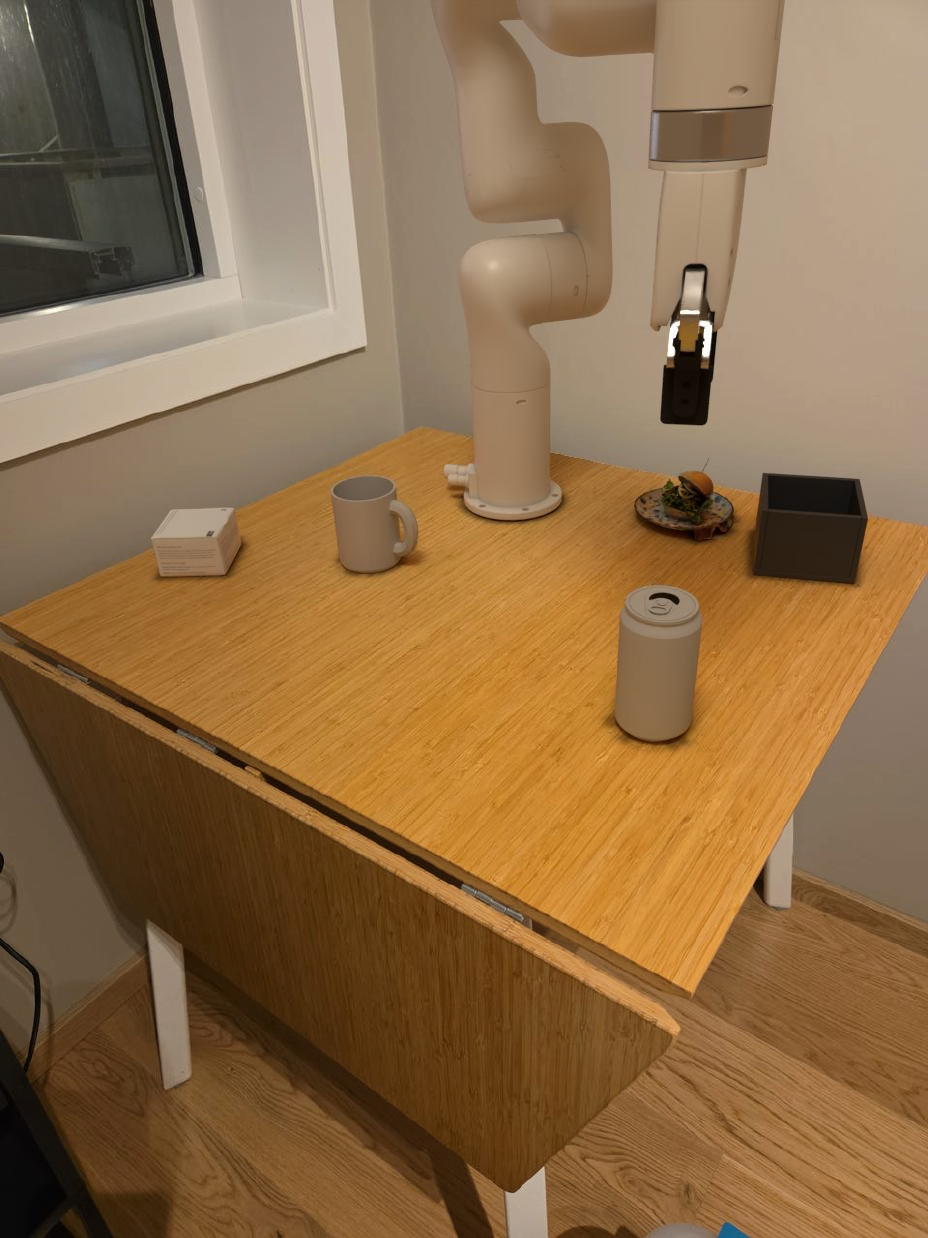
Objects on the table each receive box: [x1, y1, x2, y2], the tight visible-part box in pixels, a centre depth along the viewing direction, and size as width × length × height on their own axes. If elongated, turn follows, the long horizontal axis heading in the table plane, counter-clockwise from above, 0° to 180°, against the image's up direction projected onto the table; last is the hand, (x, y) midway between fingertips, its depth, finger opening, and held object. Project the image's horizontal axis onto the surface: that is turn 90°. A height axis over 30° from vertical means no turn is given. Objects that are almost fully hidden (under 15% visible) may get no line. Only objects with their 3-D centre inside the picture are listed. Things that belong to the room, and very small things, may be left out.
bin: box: [752, 472, 869, 585], centre depth 98 cm, size 10×10×8 cm
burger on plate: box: [633, 458, 735, 542], centre depth 108 cm, size 12×12×8 cm
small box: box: [150, 507, 242, 578], centre depth 104 cm, size 8×8×5 cm
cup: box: [330, 474, 419, 574], centre depth 101 cm, size 7×10×9 cm
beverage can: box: [614, 584, 703, 743], centre depth 74 cm, size 6×6×12 cm
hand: (687, 401), depth 67 cm, fingers open, 9 cm apart
